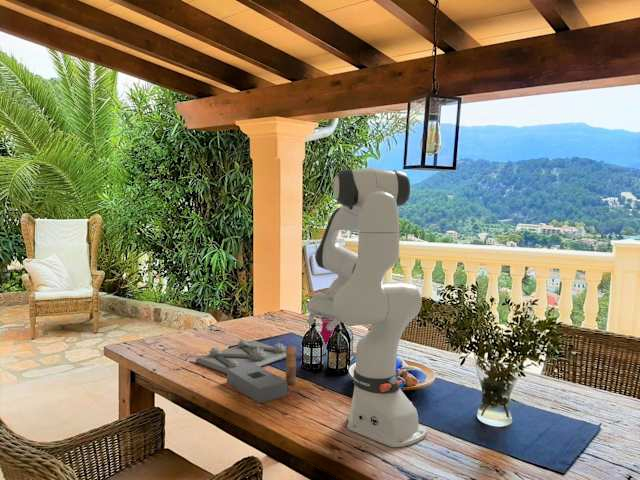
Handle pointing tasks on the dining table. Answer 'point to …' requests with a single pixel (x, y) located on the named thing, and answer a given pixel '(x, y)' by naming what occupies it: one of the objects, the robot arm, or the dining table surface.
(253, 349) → the grey crossed stick tray
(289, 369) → the peg
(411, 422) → the robot arm
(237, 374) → the socket block
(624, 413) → the dining table surface
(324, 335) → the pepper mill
